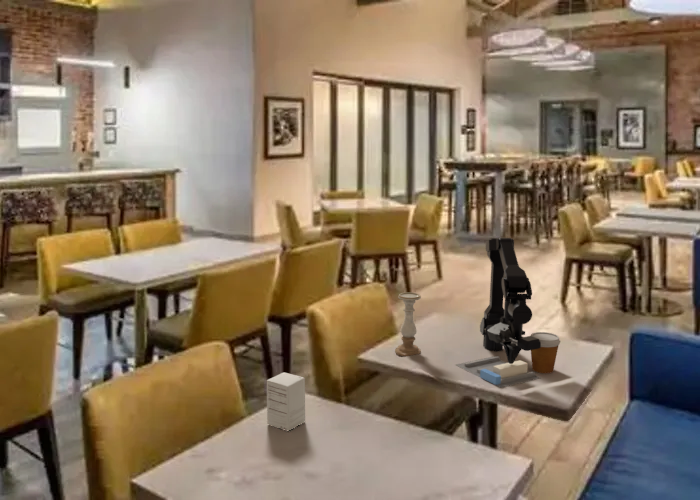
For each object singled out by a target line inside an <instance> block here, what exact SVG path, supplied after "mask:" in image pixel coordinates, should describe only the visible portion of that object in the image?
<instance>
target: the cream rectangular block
mask: <svg viewBox="0 0 700 500" xmlns="http://www.w3.org/2000/svg"><path fill="white" fill-rule="evenodd" d="M528 366H529V365H528V362H525V361H523V360H521V359H520V360H515V361H514V363H513V364H510V363H507V362H506V363H505V364H501V365H496V366H493V373H496V374H498V375H500V376H501V379H502V378H507V377H511V376H515V375H520V374H524V373H527V372H528Z"/></svg>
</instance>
